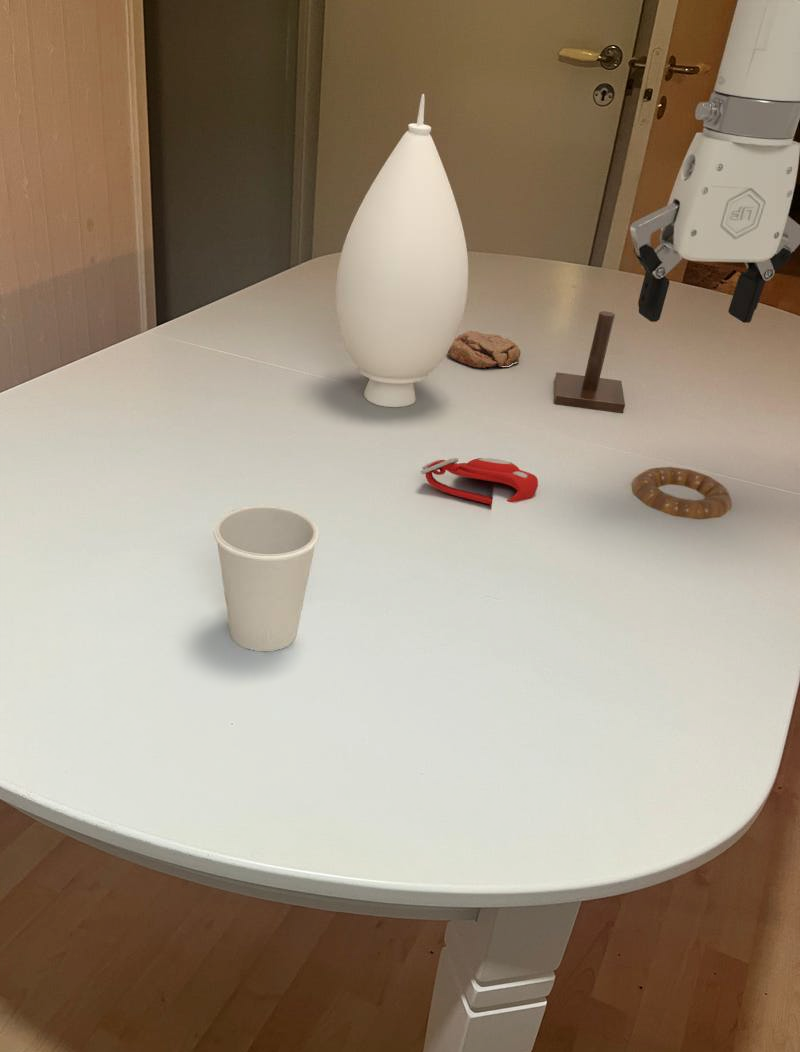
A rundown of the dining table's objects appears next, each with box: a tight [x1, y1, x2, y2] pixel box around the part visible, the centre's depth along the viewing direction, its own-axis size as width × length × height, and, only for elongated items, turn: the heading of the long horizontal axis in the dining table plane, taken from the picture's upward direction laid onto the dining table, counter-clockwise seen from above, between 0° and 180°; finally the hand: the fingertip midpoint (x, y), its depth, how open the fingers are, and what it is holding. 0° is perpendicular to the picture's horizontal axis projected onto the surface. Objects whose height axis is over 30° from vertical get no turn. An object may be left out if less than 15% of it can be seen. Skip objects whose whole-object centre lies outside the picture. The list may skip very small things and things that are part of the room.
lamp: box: [335, 93, 469, 408], centre depth 116 cm, size 16×16×35 cm
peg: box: [554, 310, 626, 414], centre depth 127 cm, size 9×9×11 cm
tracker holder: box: [420, 457, 539, 505], centre depth 104 cm, size 12×4×10 cm
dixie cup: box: [212, 504, 320, 652], centre depth 78 cm, size 8×8×10 cm
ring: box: [631, 466, 733, 520], centre depth 105 cm, size 10×10×3 cm
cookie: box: [447, 330, 522, 369], centre depth 140 cm, size 10×11×3 cm
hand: (693, 317), depth 93 cm, fingers open, 9 cm apart
